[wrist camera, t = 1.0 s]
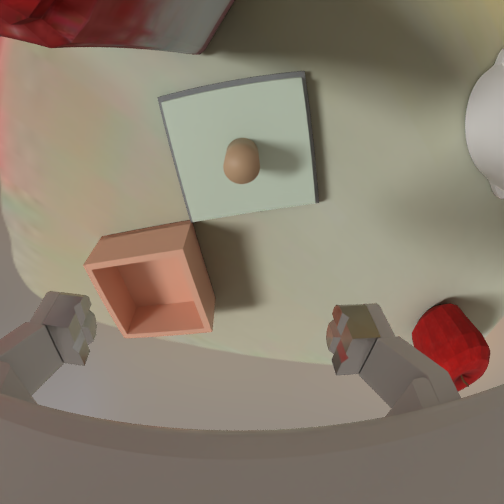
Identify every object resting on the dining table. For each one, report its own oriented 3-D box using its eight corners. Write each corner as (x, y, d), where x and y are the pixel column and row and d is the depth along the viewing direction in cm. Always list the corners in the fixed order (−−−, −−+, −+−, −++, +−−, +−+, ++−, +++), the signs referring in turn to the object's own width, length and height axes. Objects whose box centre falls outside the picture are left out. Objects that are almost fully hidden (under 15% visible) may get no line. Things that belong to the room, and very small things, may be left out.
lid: (299, 76, 24) (310, 80, 20) (313, 198, 31) (324, 223, 27) (163, 101, 25) (147, 109, 21) (194, 217, 32) (186, 244, 28)
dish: (191, 219, 33) (182, 249, 28) (215, 298, 39) (212, 331, 34) (101, 236, 33) (83, 265, 29) (135, 307, 39) (124, 338, 35)
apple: (430, 283, 38) (474, 360, 27) (470, 297, 40) (510, 363, 29) (389, 335, 44) (417, 411, 32) (432, 342, 46) (460, 408, 34)
